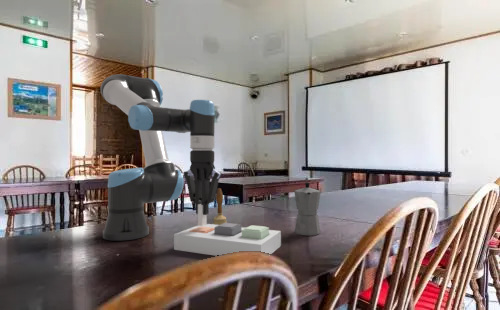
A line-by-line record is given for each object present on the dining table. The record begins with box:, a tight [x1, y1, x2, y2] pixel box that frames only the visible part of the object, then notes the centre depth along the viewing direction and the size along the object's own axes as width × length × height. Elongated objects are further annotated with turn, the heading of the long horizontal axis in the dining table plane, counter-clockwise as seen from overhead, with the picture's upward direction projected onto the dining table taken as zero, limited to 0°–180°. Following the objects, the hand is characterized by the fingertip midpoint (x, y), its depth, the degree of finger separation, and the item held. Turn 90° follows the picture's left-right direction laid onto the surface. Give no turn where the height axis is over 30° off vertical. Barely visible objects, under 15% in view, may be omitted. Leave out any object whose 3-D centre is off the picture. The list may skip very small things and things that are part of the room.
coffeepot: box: [293, 182, 322, 236], centre depth 115 cm, size 15×9×18 cm, turn 174°
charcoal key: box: [215, 222, 242, 236], centre depth 96 cm, size 6×6×3 cm
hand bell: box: [212, 187, 228, 225], centre depth 115 cm, size 8×8×16 cm
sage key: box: [242, 224, 270, 240], centre depth 92 cm, size 6×6×3 cm
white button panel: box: [173, 223, 282, 257], centre depth 96 cm, size 28×16×5 cm, turn 66°
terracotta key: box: [190, 226, 215, 233], centre depth 99 cm, size 6×6×3 cm
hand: (202, 224), depth 100 cm, fingers closed
